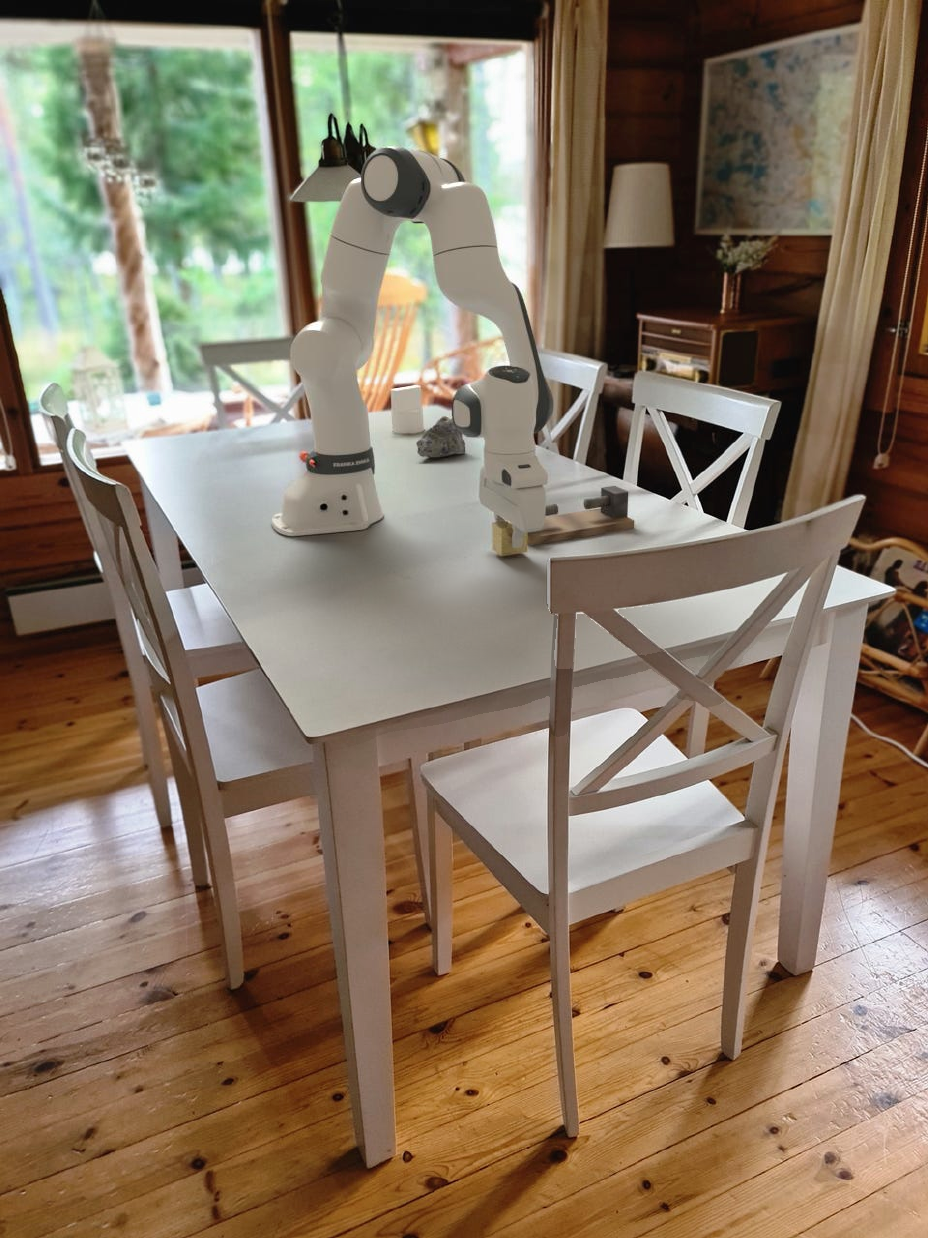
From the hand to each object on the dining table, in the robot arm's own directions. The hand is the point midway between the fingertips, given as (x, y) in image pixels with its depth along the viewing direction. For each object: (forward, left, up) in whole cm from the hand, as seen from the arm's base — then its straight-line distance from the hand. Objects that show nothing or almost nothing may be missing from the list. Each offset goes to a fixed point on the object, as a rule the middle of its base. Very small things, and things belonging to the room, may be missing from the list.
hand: (509, 541), depth 164 cm
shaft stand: (+17, +8, -3) cm, 19 cm away
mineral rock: (+17, +76, -3) cm, 78 cm away
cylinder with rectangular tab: (+20, +110, -3) cm, 112 cm away
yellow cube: (0, 0, -2) cm, 2 cm away
